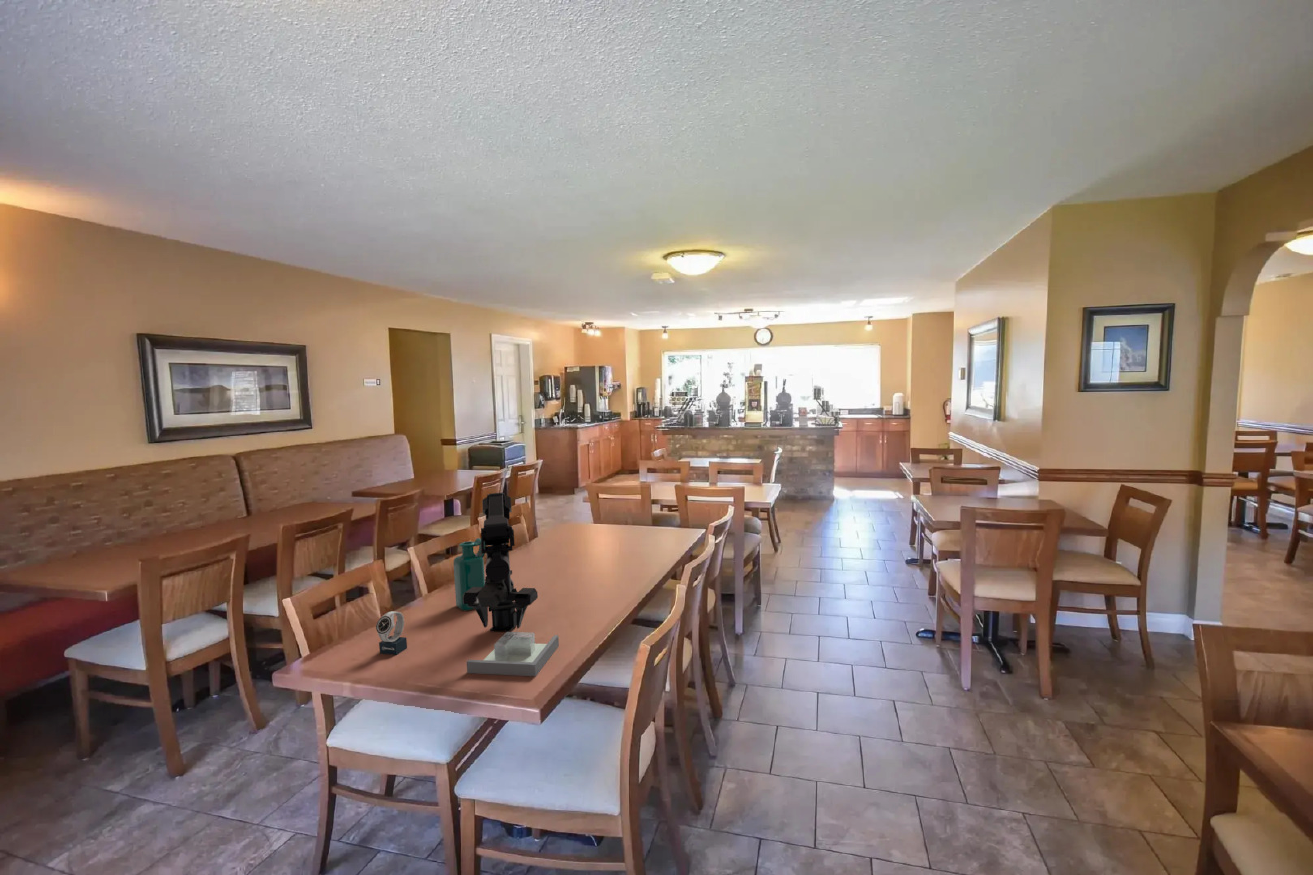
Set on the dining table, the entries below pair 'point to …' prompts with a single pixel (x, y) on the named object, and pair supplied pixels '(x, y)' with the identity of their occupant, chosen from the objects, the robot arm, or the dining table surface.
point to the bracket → (514, 645)
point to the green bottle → (468, 571)
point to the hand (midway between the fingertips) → (502, 627)
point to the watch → (384, 627)
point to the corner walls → (514, 663)
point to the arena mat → (521, 657)
